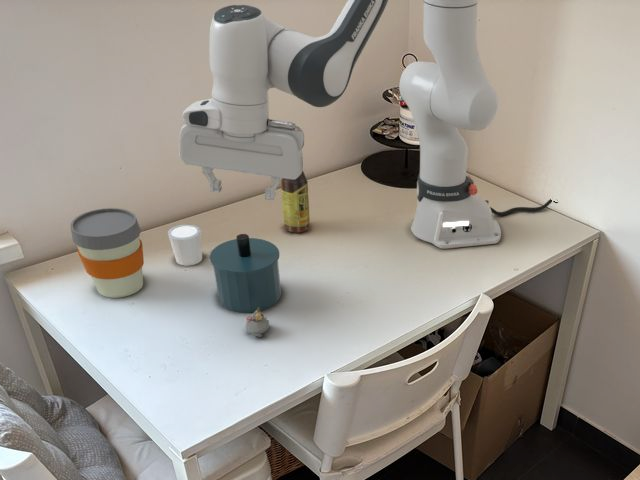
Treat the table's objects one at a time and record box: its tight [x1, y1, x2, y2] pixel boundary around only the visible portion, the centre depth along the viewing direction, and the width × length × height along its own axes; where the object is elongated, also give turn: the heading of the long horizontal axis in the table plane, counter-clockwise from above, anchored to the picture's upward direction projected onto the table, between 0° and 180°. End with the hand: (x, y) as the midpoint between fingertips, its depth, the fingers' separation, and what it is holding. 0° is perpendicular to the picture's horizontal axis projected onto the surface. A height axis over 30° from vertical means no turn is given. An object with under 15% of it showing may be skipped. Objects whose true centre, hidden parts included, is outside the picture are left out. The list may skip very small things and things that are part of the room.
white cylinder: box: [167, 224, 203, 267], centre depth 157 cm, size 7×7×7 cm
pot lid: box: [209, 233, 280, 274], centre depth 142 cm, size 14×14×5 cm
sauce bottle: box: [280, 169, 311, 234], centre depth 168 cm, size 6×6×20 cm
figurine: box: [245, 307, 270, 338], centre depth 137 cm, size 5×4×6 cm
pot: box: [213, 260, 282, 314], centre depth 146 cm, size 13×13×10 cm
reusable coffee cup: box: [69, 207, 145, 299], centre depth 144 cm, size 12×13×15 cm
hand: (243, 194), depth 124 cm, fingers open, 8 cm apart
